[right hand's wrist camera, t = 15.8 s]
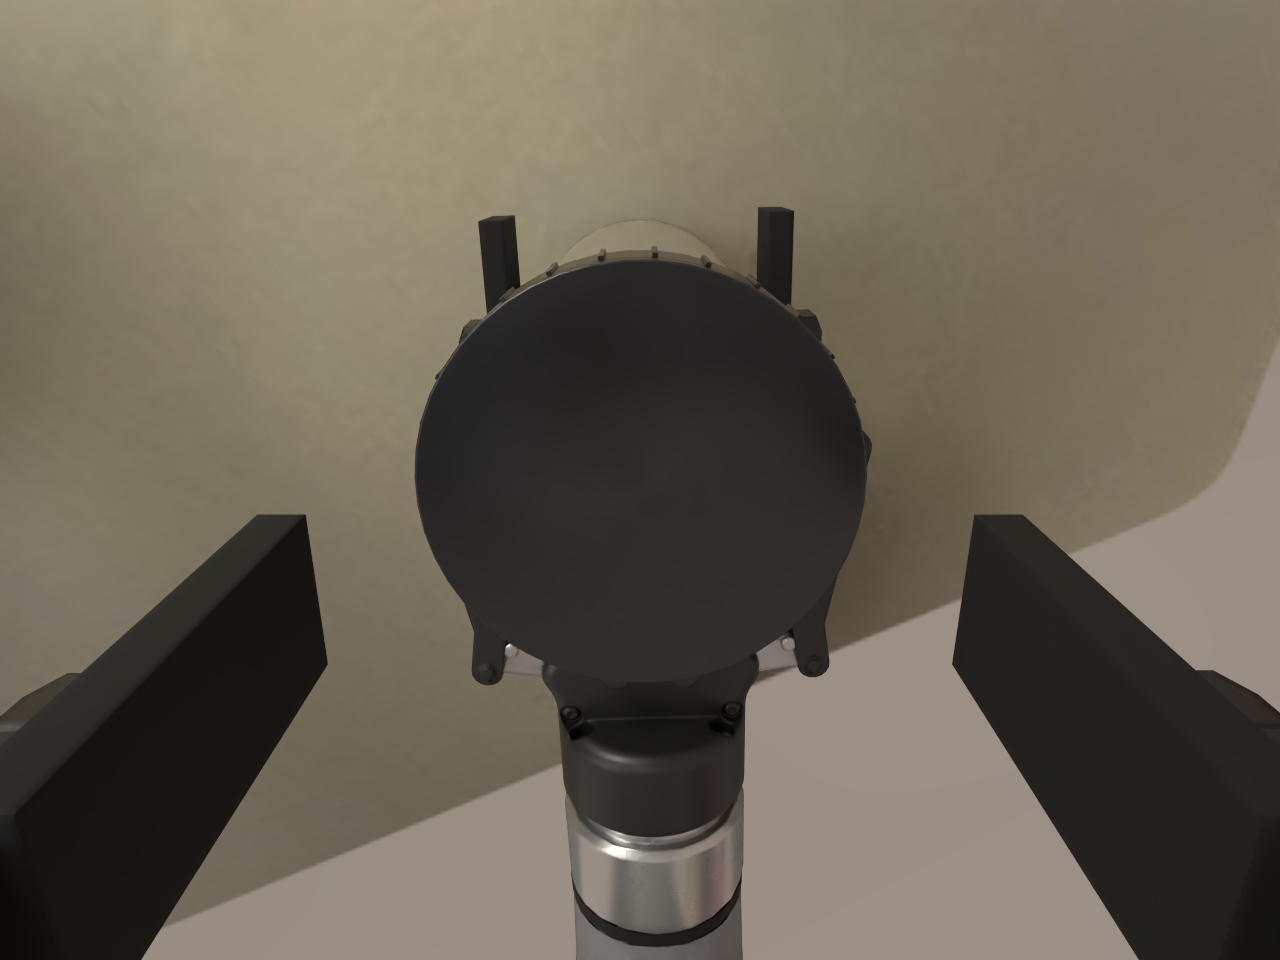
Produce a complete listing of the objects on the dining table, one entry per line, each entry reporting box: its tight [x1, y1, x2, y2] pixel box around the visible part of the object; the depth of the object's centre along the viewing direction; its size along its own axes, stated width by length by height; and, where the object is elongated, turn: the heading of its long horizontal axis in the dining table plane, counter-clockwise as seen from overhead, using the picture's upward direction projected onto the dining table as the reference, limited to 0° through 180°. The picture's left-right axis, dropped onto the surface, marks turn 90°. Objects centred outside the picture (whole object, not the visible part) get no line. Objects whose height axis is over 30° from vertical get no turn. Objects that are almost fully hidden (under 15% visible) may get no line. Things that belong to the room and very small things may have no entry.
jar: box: [558, 220, 727, 268], centre depth 26 cm, size 8×8×19 cm
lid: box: [415, 246, 867, 682], centre depth 18 cm, size 9×9×2 cm
